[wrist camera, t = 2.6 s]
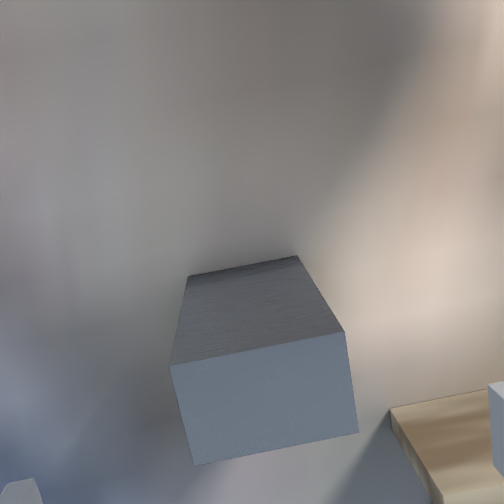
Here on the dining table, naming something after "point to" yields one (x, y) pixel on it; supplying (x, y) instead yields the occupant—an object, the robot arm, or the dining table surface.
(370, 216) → the dining table surface
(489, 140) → the dining table surface
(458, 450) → the wooden corner frame
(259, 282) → the angle block
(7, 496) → the robot arm
